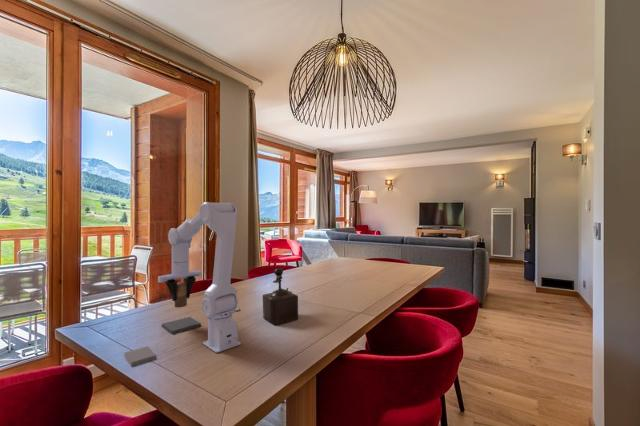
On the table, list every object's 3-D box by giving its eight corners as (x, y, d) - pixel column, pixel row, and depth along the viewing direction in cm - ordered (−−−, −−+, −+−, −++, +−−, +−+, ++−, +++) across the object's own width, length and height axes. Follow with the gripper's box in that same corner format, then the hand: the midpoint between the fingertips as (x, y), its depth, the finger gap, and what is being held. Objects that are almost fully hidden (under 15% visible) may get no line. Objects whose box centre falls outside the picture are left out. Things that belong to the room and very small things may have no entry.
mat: (200, 326, 107) (200, 323, 107) (171, 334, 100) (171, 331, 100) (189, 319, 114) (189, 316, 114) (161, 326, 107) (161, 323, 107)
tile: (147, 351, 89) (156, 360, 83) (124, 358, 84) (131, 368, 79) (147, 346, 89) (156, 354, 83) (124, 352, 84) (131, 362, 79)
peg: (188, 305, 107) (188, 283, 107) (176, 308, 104) (176, 285, 104) (184, 303, 110) (184, 281, 110) (172, 305, 107) (172, 283, 107)
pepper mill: (300, 319, 112) (300, 272, 112) (274, 326, 106) (273, 276, 106) (281, 309, 125) (280, 266, 125) (256, 314, 118) (256, 269, 119)
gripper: (195, 258, 115) (196, 293, 115) (154, 262, 104) (155, 301, 104) (203, 259, 110) (204, 296, 110) (161, 265, 99) (161, 305, 99)
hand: (180, 299), depth 107 cm, fingers closed on peg, 4 cm apart
